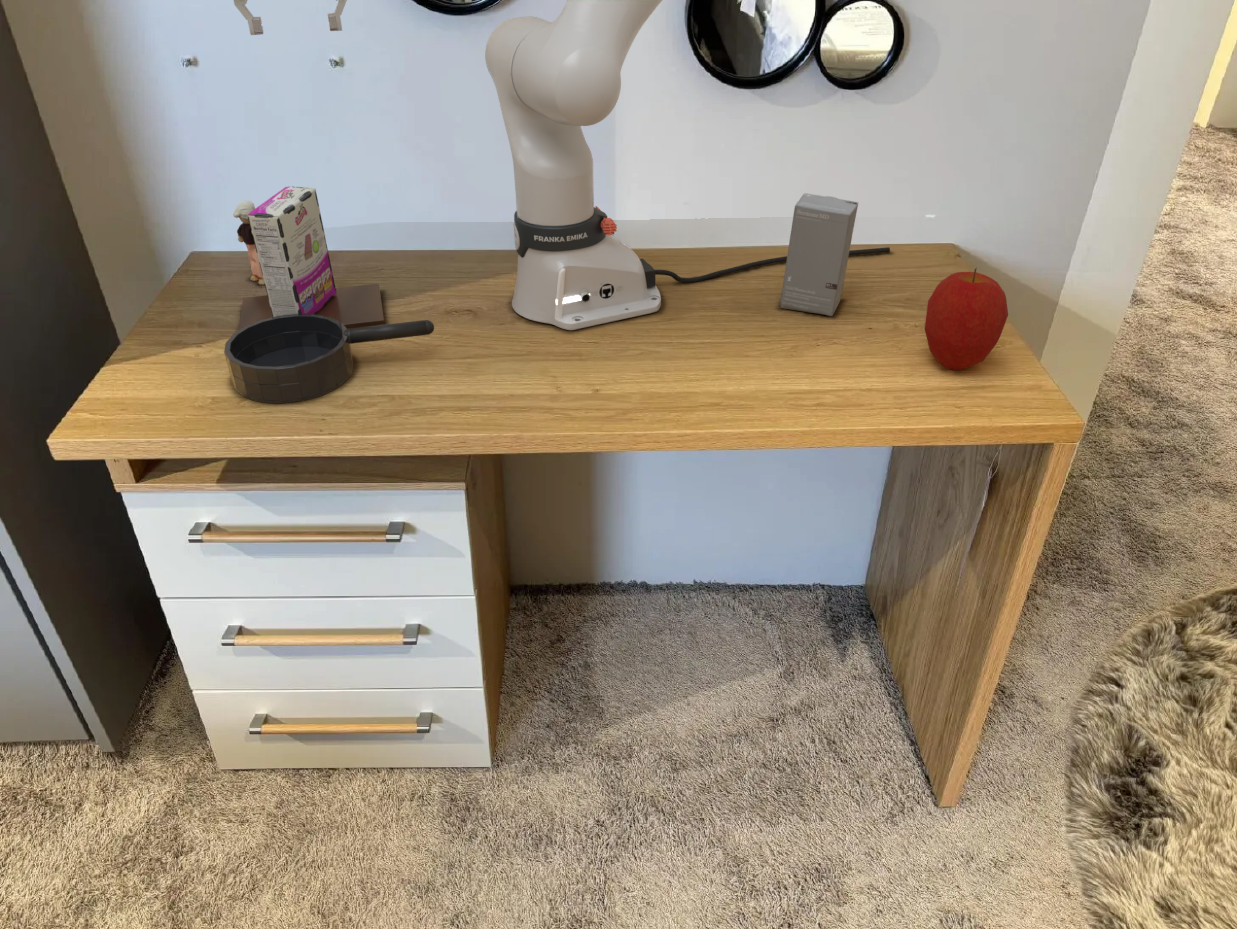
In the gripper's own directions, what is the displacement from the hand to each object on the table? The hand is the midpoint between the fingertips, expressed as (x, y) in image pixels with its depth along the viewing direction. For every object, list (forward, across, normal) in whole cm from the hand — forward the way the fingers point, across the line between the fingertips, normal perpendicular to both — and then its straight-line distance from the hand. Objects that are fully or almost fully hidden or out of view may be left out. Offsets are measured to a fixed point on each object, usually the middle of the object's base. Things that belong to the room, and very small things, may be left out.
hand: (297, 31), depth 119 cm
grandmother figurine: (+39, +13, -18) cm, 45 cm away
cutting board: (+39, +5, -1) cm, 39 cm away
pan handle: (+36, -6, +15) cm, 39 cm away
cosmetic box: (+39, -68, +13) cm, 80 cm away
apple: (+39, -79, +35) cm, 95 cm away
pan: (+39, +7, +15) cm, 43 cm away
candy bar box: (+38, +6, -1) cm, 38 cm away
